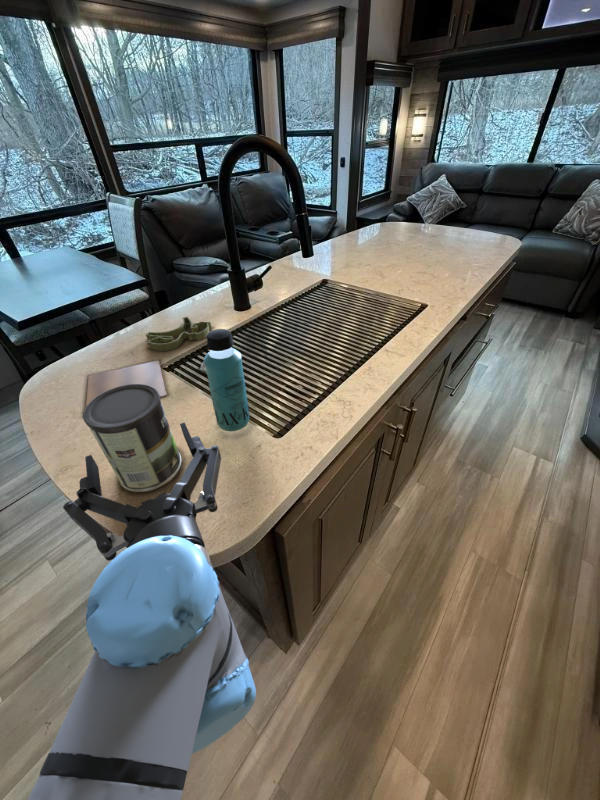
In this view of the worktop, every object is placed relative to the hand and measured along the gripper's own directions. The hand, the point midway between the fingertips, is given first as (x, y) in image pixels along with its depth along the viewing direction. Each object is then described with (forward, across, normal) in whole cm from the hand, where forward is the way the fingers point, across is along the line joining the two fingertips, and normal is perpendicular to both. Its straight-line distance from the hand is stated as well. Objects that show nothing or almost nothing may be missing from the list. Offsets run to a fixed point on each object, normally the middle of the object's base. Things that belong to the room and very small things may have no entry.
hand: (140, 444), depth 51 cm
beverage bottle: (+4, +16, -7) cm, 18 cm away
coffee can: (+2, 0, -7) cm, 7 cm away
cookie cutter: (+47, +16, -7) cm, 50 cm away
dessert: (+27, +20, -7) cm, 34 cm away
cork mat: (+30, 0, -7) cm, 31 cm away
